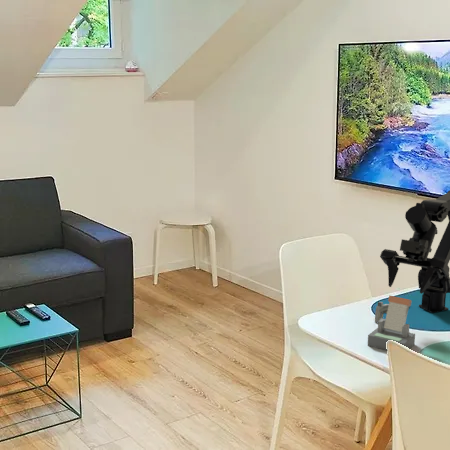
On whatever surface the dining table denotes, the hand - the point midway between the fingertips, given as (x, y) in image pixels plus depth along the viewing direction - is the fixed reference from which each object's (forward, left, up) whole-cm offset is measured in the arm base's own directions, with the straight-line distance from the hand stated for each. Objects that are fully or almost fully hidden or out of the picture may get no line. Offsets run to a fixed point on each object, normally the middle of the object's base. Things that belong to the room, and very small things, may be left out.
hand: (404, 289), depth 200 cm
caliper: (-6, -12, -13) cm, 19 cm away
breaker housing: (+8, +6, -12) cm, 16 cm away
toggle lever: (+8, +6, -9) cm, 14 cm away
